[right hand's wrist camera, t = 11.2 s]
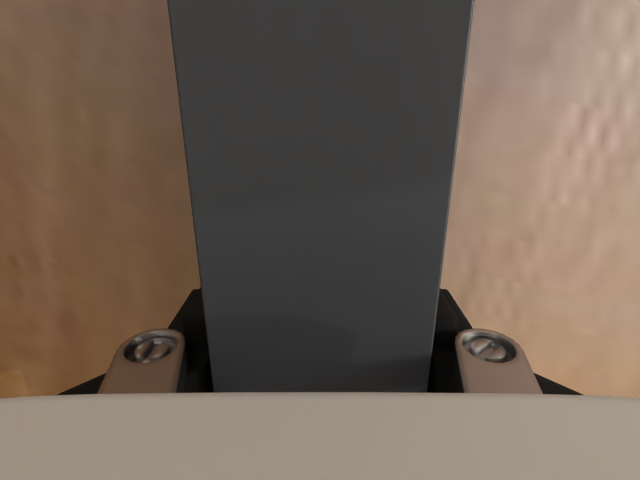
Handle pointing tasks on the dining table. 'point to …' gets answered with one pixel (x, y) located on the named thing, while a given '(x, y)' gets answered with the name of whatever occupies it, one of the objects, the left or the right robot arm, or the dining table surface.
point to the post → (320, 184)
